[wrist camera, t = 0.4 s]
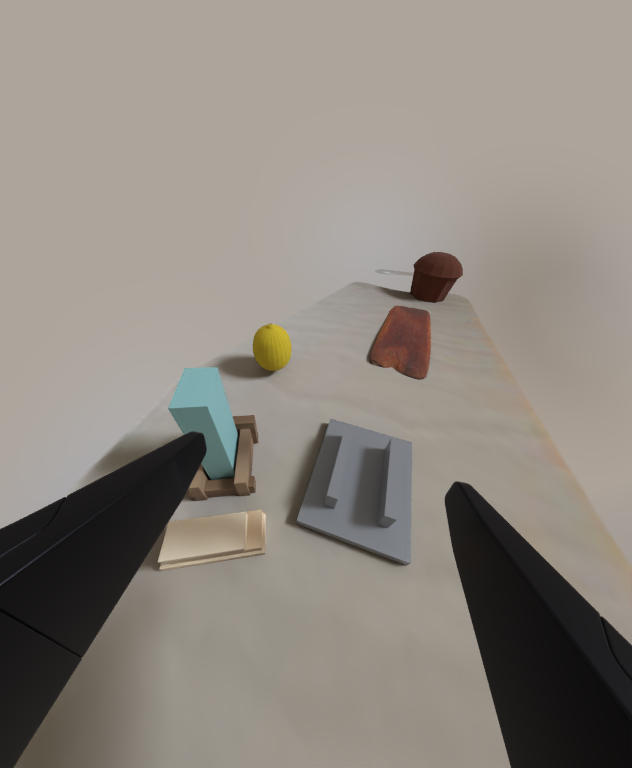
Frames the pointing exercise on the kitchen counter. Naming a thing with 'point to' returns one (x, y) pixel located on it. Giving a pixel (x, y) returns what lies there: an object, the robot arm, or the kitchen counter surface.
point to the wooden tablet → (404, 342)
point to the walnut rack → (243, 479)
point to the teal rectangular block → (207, 418)
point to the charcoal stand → (362, 491)
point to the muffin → (435, 276)
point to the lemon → (272, 347)
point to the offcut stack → (213, 539)
